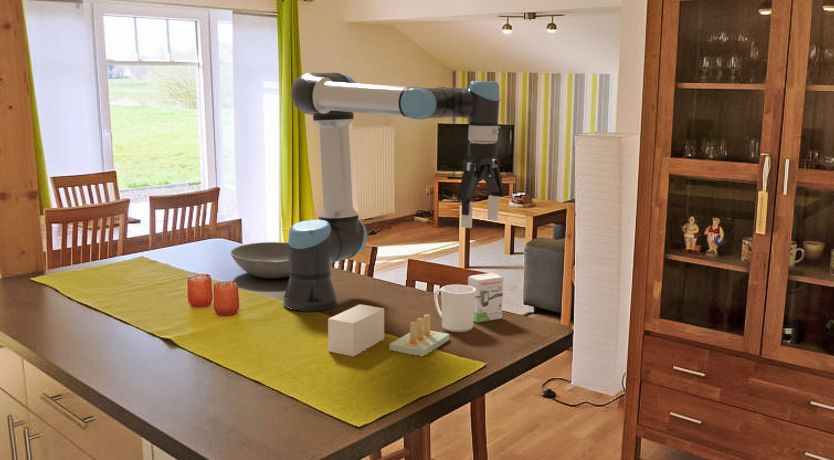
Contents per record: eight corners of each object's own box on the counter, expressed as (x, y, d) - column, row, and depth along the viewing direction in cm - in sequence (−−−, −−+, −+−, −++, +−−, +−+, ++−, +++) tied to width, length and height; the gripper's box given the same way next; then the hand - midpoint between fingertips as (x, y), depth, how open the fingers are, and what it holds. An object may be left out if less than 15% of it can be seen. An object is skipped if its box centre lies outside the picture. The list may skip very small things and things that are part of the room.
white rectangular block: (353, 356, 182) (353, 323, 180) (328, 351, 185) (328, 318, 184) (384, 339, 194) (384, 308, 193) (359, 335, 197) (359, 304, 196)
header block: (389, 350, 187) (389, 323, 185) (417, 333, 199) (417, 309, 197) (423, 356, 182) (423, 329, 181) (449, 339, 195) (449, 314, 193)
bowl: (217, 283, 245) (216, 257, 243) (250, 263, 272) (249, 239, 270) (301, 288, 240) (301, 262, 239) (326, 267, 268) (326, 243, 266)
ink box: (476, 323, 208) (478, 280, 206) (466, 318, 213) (467, 276, 210) (502, 318, 213) (504, 276, 211) (491, 313, 217) (493, 272, 215)
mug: (478, 324, 207) (479, 286, 205) (469, 334, 199) (470, 295, 197) (438, 319, 211) (439, 282, 209) (428, 329, 203) (428, 290, 201)
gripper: (470, 145, 189) (467, 232, 193) (518, 140, 209) (515, 218, 213) (444, 144, 193) (442, 228, 197) (493, 138, 213) (490, 215, 218)
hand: (479, 223), depth 205 cm, fingers open, 13 cm apart
